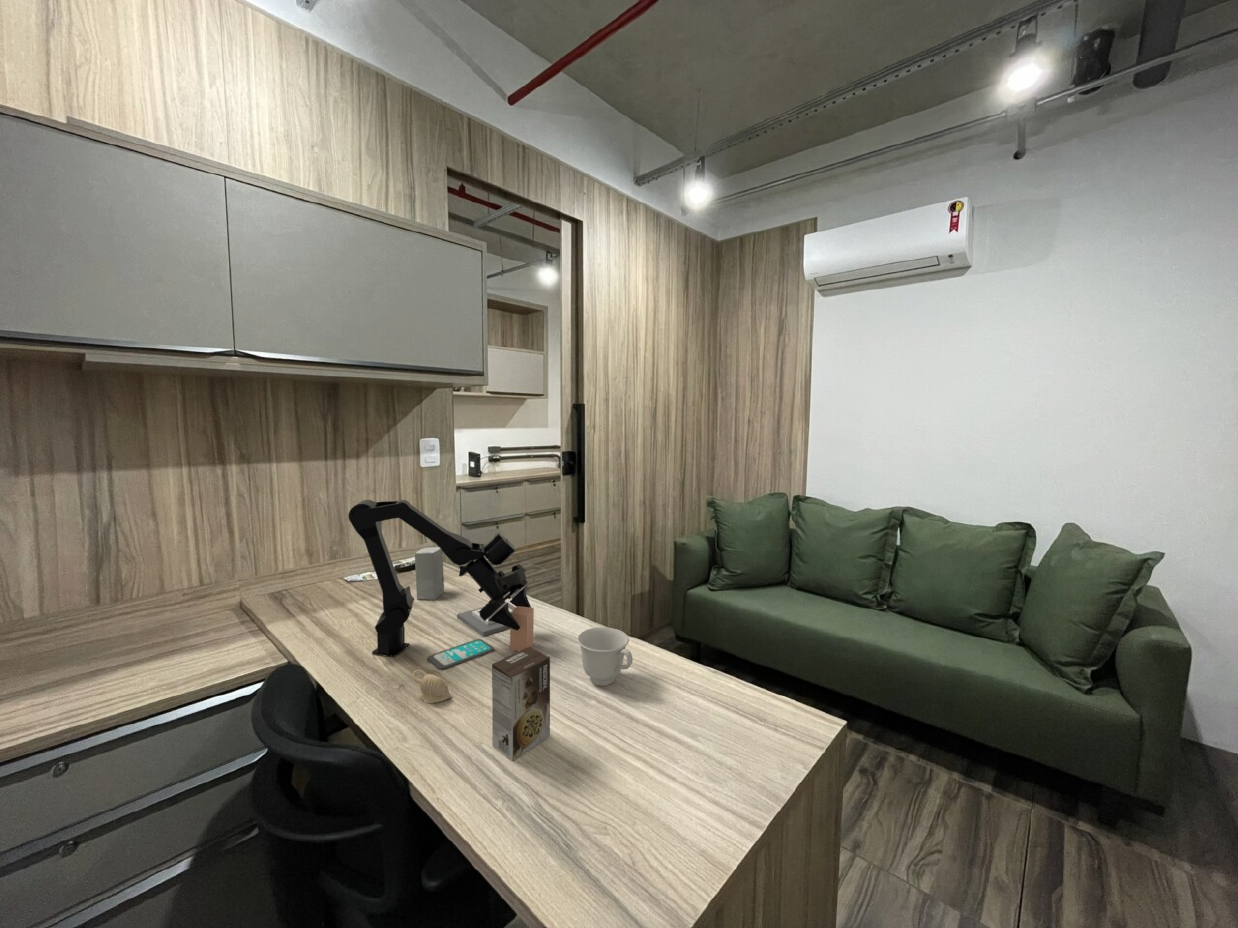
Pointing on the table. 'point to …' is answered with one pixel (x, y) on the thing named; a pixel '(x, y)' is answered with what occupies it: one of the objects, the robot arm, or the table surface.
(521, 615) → the terracotta block
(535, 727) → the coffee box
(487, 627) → the dock board
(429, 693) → the beige creamer pitcher
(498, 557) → the robot arm
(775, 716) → the table surface
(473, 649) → the smartphone
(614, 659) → the teacup
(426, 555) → the skincare box
